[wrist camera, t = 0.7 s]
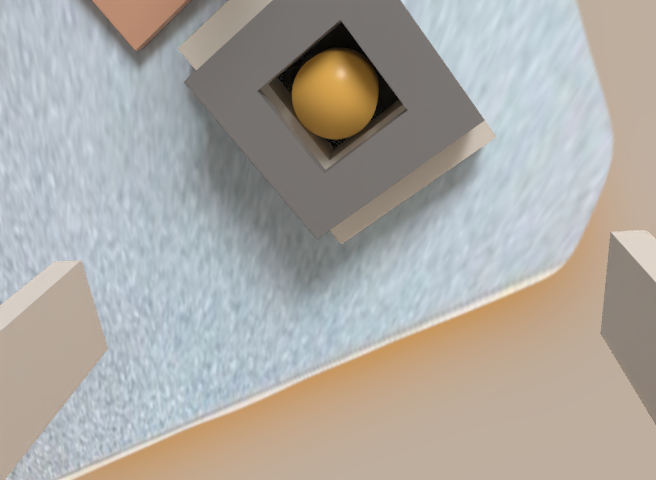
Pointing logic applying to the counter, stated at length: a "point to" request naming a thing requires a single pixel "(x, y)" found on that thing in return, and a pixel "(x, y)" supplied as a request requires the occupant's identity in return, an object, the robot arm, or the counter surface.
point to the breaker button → (335, 93)
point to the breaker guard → (314, 151)
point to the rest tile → (140, 17)
